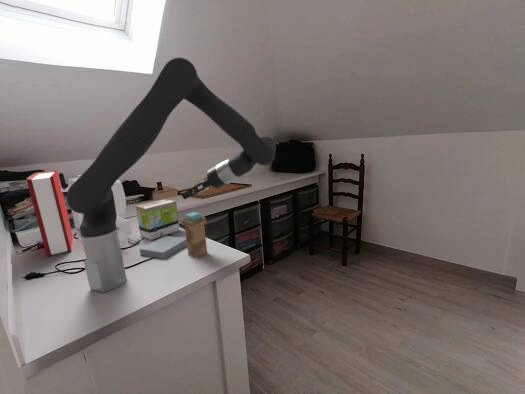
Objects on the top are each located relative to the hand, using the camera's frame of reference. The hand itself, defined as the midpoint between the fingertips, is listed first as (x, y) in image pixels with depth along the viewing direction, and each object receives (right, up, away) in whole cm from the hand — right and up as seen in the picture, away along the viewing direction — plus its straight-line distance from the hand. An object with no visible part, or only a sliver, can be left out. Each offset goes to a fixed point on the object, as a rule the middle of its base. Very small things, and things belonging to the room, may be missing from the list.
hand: (189, 193), depth 98 cm
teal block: (+1, -11, +1) cm, 11 cm away
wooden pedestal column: (+2, -23, +4) cm, 23 cm away
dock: (-12, -22, +10) cm, 28 cm away
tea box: (-21, -19, +29) cm, 41 cm away
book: (-64, -23, +23) cm, 72 cm away
